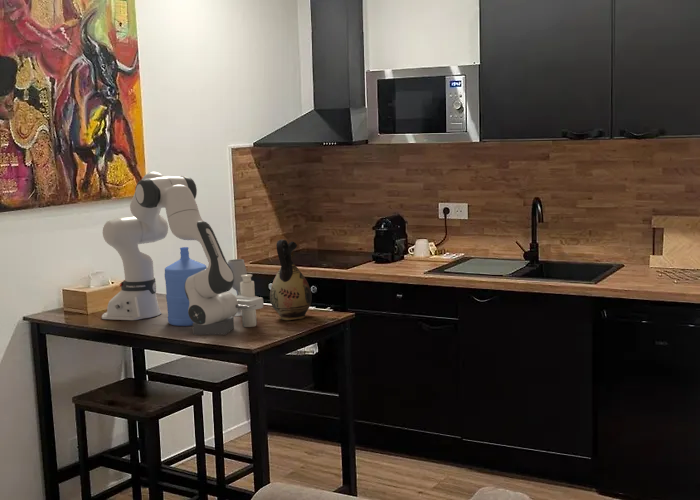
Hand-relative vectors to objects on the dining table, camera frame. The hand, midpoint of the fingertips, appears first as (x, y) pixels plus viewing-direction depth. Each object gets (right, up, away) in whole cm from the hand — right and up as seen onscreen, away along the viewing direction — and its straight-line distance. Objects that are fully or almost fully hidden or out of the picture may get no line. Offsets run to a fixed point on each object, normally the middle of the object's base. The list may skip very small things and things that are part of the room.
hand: (249, 297), depth 321 cm
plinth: (-12, -11, -6) cm, 18 cm away
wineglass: (-6, -8, +21) cm, 23 cm away
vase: (0, -10, +1) cm, 10 cm away
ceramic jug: (+14, -8, +10) cm, 19 cm away
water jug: (-24, -10, +11) cm, 28 cm away
